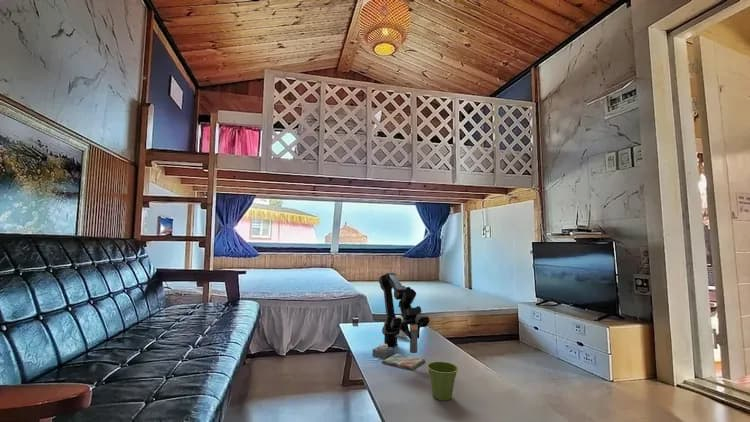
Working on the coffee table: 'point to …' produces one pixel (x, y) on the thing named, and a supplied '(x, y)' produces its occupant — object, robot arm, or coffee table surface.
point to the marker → (413, 338)
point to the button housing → (383, 352)
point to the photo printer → (401, 333)
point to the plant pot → (442, 379)
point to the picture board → (403, 361)
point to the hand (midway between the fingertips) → (414, 338)
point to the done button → (383, 347)
